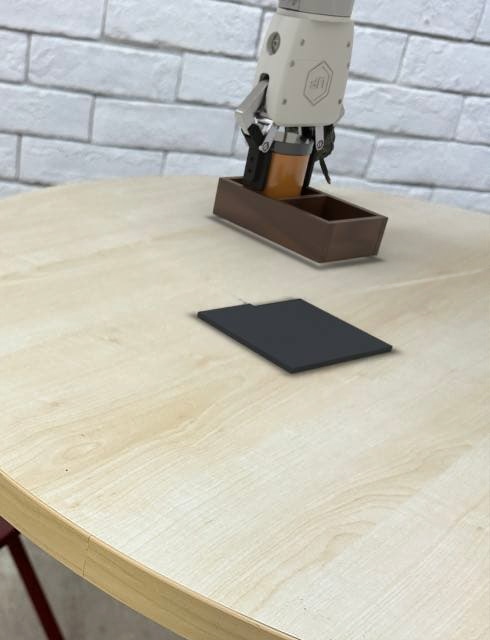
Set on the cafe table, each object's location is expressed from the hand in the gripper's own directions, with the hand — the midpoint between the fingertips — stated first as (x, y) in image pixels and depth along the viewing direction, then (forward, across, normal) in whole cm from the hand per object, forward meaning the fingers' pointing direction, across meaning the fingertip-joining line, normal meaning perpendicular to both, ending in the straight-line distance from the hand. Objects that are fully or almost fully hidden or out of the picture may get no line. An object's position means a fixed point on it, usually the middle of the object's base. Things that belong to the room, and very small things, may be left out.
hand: (275, 184), depth 97 cm
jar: (+4, 0, 0) cm, 4 cm away
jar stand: (+5, 0, -4) cm, 6 cm away
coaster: (+5, -20, -25) cm, 33 cm away
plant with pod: (+5, +13, +11) cm, 18 cm away
